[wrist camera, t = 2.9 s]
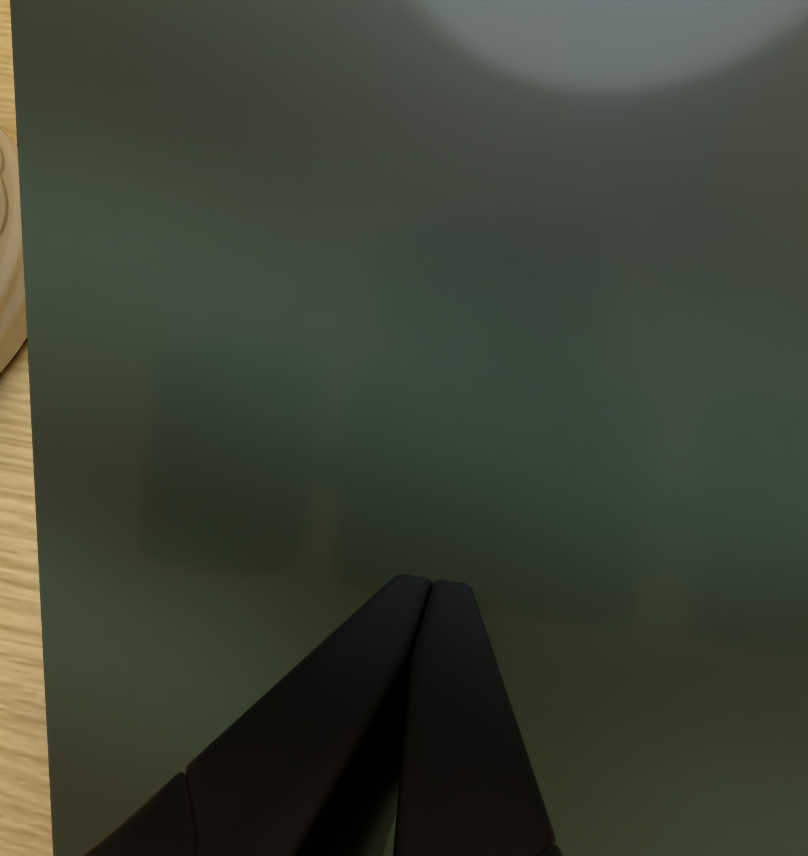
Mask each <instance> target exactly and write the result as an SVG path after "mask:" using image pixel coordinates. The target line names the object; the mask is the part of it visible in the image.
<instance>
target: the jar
mask: <svg viewBox="0 0 808 856" xmlns="http://www.w3.org/2000/svg"><path fill="white" fill-rule="evenodd" d="M26 338H27V325H26V305H25V285H24V266H23V246H22V226H21V206H20V187H19V167H18V147H17V146H16V144H15V143H14V142H13V141H12V139H11V138H10V137H9V136H8V135H7V134H6V133H5V132H4V131H3V130H2V129H1V128H0V372H1V371H2V370H3V369H4V368H5V367H6V365H7V364H8V363H9V362H10V361H11V359H12V358H13V357H14V355H15V354H16V353H17V351H18V350H19V349H20V347H21V346H22V344H23V342H24V341H25V339H26Z"/></svg>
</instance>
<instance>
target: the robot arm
mask: <svg viewBox="0 0 808 856" xmlns="http://www.w3.org/2000/svg"><path fill="white" fill-rule="evenodd" d="M185 773H186V775H185ZM185 773H184V772H178V773H177V774H176V775H175V776H174V777H173V778H172V779H171V780H170V781H168V782H167V783H166V784H165V785H164V786H163V787H162V788H161V789H160V790H159V791H157V792H156V793H155V794H154V795H153V796H152V797H151V798H150V799H149V800H147V801H146V802H145V803H144V804H143V805H142V806H140V807H139V808H138V809H137V810H136V811H135V812H134V813H132V814H131V815H130V816H129V817H128V818H127V819H125V820H124V821H123V822H122V823H121V824H120V825H119V826H117V827H116V828H115V829H114V830H113V831H112V832H110V833H109V834H108V835H107V836H106V837H105V838H103V839H102V840H101V841H100V842H99V843H97V844H96V845H95V846H93V847H92V848H91V849H90V850H88V851H87V852H86V853H85V854H83V855H82V856H383V853H384V850H385V847H386V843H387V840H388V837H389V834H390V830H391V827H392V824H393V821H394V818H395V814H396V811H397V814H396V825H395V837H394V849H393V856H562V853H561V850H560V848H559V847H558V846H557V845H556V837H555V834H554V831H553V828H552V825H551V822H550V819H549V816H548V813H547V810H546V807H545V804H544V801H543V798H542V795H541V792H540V789H539V786H538V783H537V780H536V777H535V774H534V771H533V768H532V765H531V762H530V759H529V756H528V753H527V750H526V747H525V744H524V741H523V738H522V735H521V732H520V729H519V726H518V723H517V720H516V717H515V714H514V711H513V708H512V706H511V703H510V700H509V697H508V694H507V691H506V688H505V685H504V682H503V679H502V676H501V673H500V670H499V667H498V664H497V661H496V658H495V655H494V652H493V649H492V646H491V643H490V640H489V637H488V634H487V631H486V628H485V625H484V622H483V619H482V616H481V613H480V610H479V607H478V604H477V601H476V598H475V595H474V592H473V590H472V588H471V586H470V585H469V584H467V583H461V582H454V581H447V580H437V581H435V582H434V584H433V583H432V581H431V580H430V579H429V578H426V577H419V576H412V575H405V574H398V575H396V576H394V577H393V578H392V579H391V580H390V581H388V582H387V583H386V584H385V585H384V586H383V587H382V588H381V589H380V590H379V591H378V592H376V593H375V594H374V595H373V596H372V597H371V598H370V599H369V600H368V601H367V602H365V603H364V604H363V605H362V606H361V607H360V608H359V609H358V610H357V611H356V612H354V613H353V614H352V615H351V616H350V617H349V618H348V619H347V620H346V621H345V622H343V623H342V624H341V625H340V626H339V627H338V628H337V629H336V630H335V631H334V632H332V633H331V634H330V635H329V636H328V637H327V638H326V639H325V640H324V641H323V642H322V643H320V644H319V645H318V646H317V647H316V648H315V649H314V650H313V651H312V652H311V653H309V654H308V655H307V656H306V657H305V658H304V659H303V660H302V661H301V662H300V663H298V664H297V665H296V666H295V667H294V668H293V669H292V670H291V671H290V672H289V673H287V674H286V675H285V676H284V677H283V678H282V679H281V680H280V681H279V682H278V683H277V684H275V685H274V686H273V687H272V688H271V689H270V690H269V691H268V692H267V693H266V694H264V695H263V696H262V697H261V698H260V699H259V700H258V701H257V702H256V703H255V704H253V705H252V706H251V707H250V708H249V709H248V710H247V711H246V712H245V713H244V714H242V715H241V716H240V717H239V718H238V719H237V720H236V721H235V722H234V723H233V724H231V725H230V726H229V727H228V728H227V729H226V730H225V731H224V732H223V733H222V734H221V735H219V736H218V737H217V738H216V739H215V740H214V741H213V742H212V743H211V744H210V745H208V746H207V747H206V748H205V749H204V750H203V751H202V752H201V753H200V754H199V755H197V756H196V757H195V758H194V759H193V760H192V761H191V762H190V763H189V764H188V765H187V766H186V767H185Z"/></svg>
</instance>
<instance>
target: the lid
mask: <svg viewBox="0 0 808 856" xmlns="http://www.w3.org/2000/svg"><path fill="white" fill-rule="evenodd" d="M10 9H11V29H12V48H13V68H14V88H15V108H16V127H17V147H18V167H19V187H20V206H21V226H22V246H23V266H24V285H25V305H26V325H27V345H28V364H29V384H30V404H31V424H32V443H33V463H34V483H35V503H36V522H37V542H38V562H39V582H40V601H41V621H42V641H43V661H44V680H45V700H46V720H47V740H48V759H49V779H50V799H51V819H52V838H53V856H82V855H83V854H85V853H86V852H87V851H88V850H90V849H91V848H92V847H93V846H95V845H96V844H97V843H99V842H100V841H101V840H102V839H103V838H105V837H106V836H107V835H108V834H109V833H110V832H112V831H113V830H114V829H115V828H116V827H117V826H119V825H120V824H121V823H122V822H123V821H124V820H125V819H127V818H128V817H129V816H130V815H131V814H132V813H134V812H135V811H136V810H137V809H138V808H139V807H140V806H142V805H143V804H144V803H145V802H146V801H147V800H149V799H150V798H151V797H152V796H153V795H154V794H155V793H156V792H157V791H159V790H160V789H161V788H162V787H163V786H164V785H165V784H166V783H167V782H168V781H170V780H171V779H172V778H173V777H174V776H175V775H176V774H177V773H178V772H184V773H185V767H186V766H187V765H188V764H189V763H190V762H191V761H192V760H193V759H194V758H195V757H196V756H197V755H199V754H200V753H201V752H202V751H203V750H204V749H205V748H206V747H207V746H208V745H210V744H211V743H212V742H213V741H214V740H215V739H216V738H217V737H218V736H219V735H221V734H222V733H223V732H224V731H225V730H226V729H227V728H228V727H229V726H230V725H231V724H233V723H234V722H235V721H236V720H237V719H238V718H239V717H240V716H241V715H242V714H244V713H245V712H246V711H247V710H248V709H249V708H250V707H251V706H252V705H253V704H255V703H256V702H257V701H258V700H259V699H260V698H261V697H262V696H263V695H264V694H266V693H267V692H268V691H269V690H270V689H271V688H272V687H273V686H274V685H275V684H277V683H278V682H279V681H280V680H281V679H282V678H283V677H284V676H285V675H286V674H287V673H289V672H290V671H291V670H292V669H293V668H294V667H295V666H296V665H297V664H298V663H300V662H301V661H302V660H303V659H304V658H305V657H306V656H307V655H308V654H309V653H311V652H312V651H313V650H314V649H315V648H316V647H317V646H318V645H319V644H320V643H322V642H323V641H324V640H325V639H326V638H327V637H328V636H329V635H330V634H331V633H332V632H334V631H335V630H336V629H337V628H338V627H339V626H340V625H341V624H342V623H343V622H345V621H346V620H347V619H348V618H349V617H350V616H351V615H352V614H353V613H354V612H356V611H357V610H358V609H359V608H360V607H361V606H362V605H363V604H364V603H365V602H367V601H368V600H369V599H370V598H371V597H372V596H373V595H374V594H375V593H376V592H378V591H379V590H380V589H381V588H382V587H383V586H384V585H385V584H386V583H387V582H388V581H390V580H391V579H392V578H393V577H394V576H396V575H398V574H405V575H412V576H419V577H426V578H429V579H430V580H431V581H432V583H433V584H434V582H435V581H437V580H447V581H454V582H461V583H467V584H469V585H470V586H471V588H472V590H473V592H474V595H475V598H476V601H477V604H478V607H479V610H480V613H481V616H482V619H483V622H484V625H485V628H486V631H487V634H488V637H489V640H490V643H491V646H492V649H493V652H494V655H495V658H496V661H497V664H498V667H499V670H500V673H501V676H502V679H503V682H504V685H505V688H506V691H507V694H508V697H509V700H510V703H511V706H512V708H513V711H514V714H515V717H516V720H517V723H518V726H519V729H520V732H521V735H522V738H523V741H524V744H525V747H526V750H527V753H528V756H529V759H530V762H531V765H532V768H533V771H534V774H535V777H536V780H537V783H538V786H539V789H540V792H541V795H542V798H543V801H544V804H545V807H546V810H547V813H548V816H549V819H550V822H551V825H552V828H553V831H554V834H555V837H556V845H557V846H558V847H559V848H560V850H561V853H562V856H808V0H10ZM185 775H186V773H185ZM396 814H397V811H396ZM396 814H395V818H394V821H393V824H392V827H391V830H390V834H389V837H388V840H387V843H386V847H385V850H384V853H383V856H393V849H394V837H395V825H396Z"/></svg>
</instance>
